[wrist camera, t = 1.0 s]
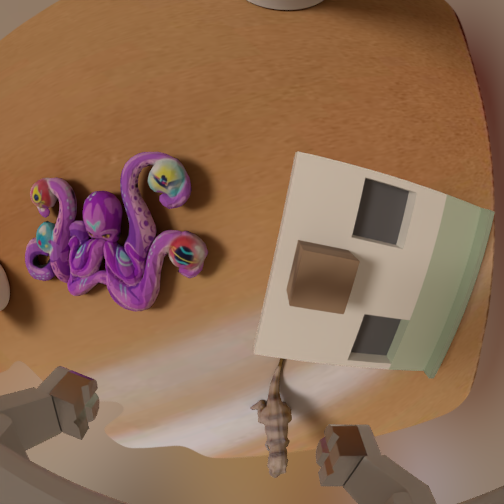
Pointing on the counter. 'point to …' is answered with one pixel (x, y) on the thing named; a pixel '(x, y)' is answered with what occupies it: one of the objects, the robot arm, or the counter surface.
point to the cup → (4, 289)
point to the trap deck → (374, 268)
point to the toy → (275, 425)
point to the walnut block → (321, 277)
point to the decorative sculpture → (115, 235)
